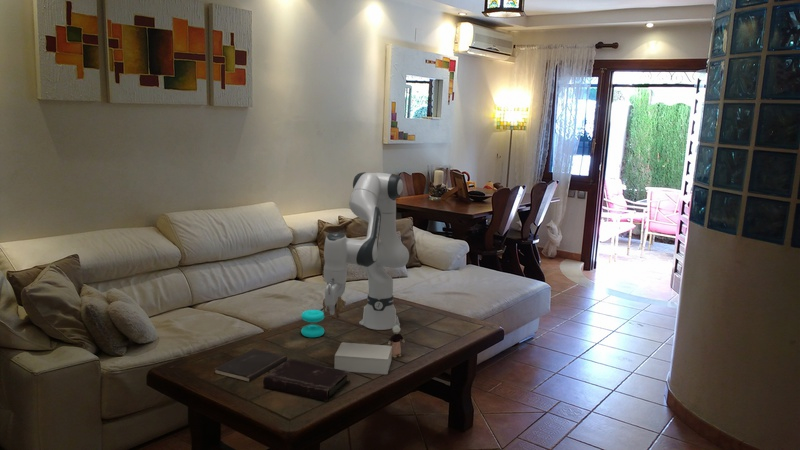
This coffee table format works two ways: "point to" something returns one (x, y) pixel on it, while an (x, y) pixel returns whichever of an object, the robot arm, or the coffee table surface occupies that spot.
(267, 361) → the hardcover book
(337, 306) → the lion figurine
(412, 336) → the coffee table surface
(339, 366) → the pedestal
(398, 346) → the grandmother figurine
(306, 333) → the donuts
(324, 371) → the diary
